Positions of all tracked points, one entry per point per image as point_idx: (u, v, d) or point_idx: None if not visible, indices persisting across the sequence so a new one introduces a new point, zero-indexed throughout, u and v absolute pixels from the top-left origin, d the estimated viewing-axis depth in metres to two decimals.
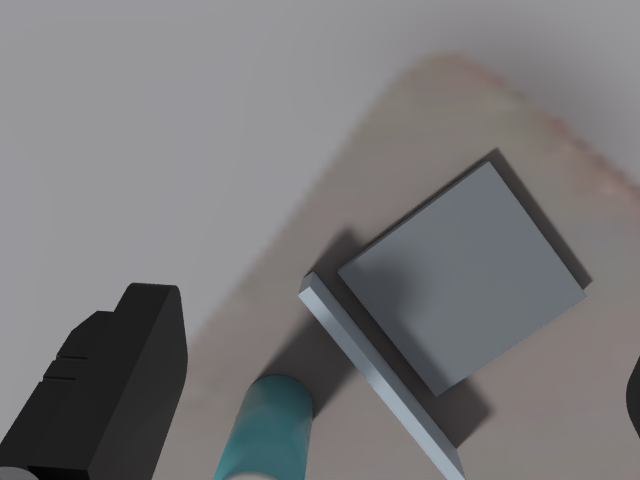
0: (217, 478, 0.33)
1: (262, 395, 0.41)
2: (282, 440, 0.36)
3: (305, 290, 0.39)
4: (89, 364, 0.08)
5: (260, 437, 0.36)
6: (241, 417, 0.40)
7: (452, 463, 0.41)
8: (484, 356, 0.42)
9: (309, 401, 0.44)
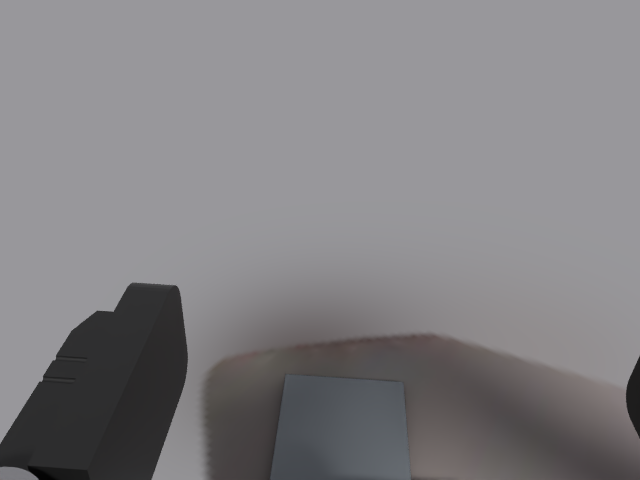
0: None
1: None
2: None
3: None
4: (89, 364, 0.08)
5: None
6: None
7: None
8: (402, 450, 0.52)
9: None
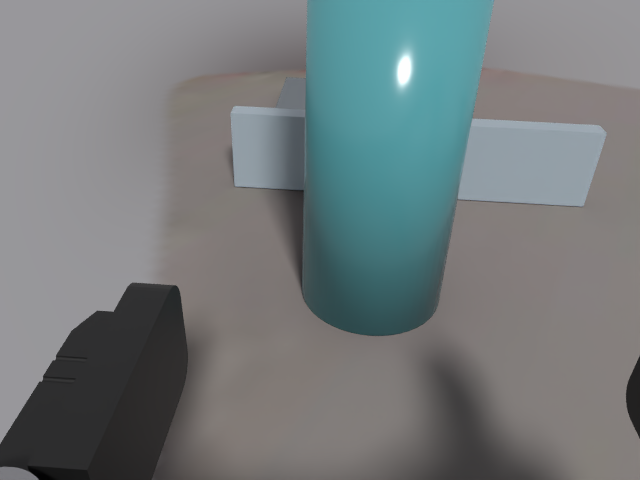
0: None
1: None
2: None
3: (234, 109, 0.29)
4: (89, 364, 0.08)
5: None
6: (304, 168, 0.20)
7: None
8: None
9: None
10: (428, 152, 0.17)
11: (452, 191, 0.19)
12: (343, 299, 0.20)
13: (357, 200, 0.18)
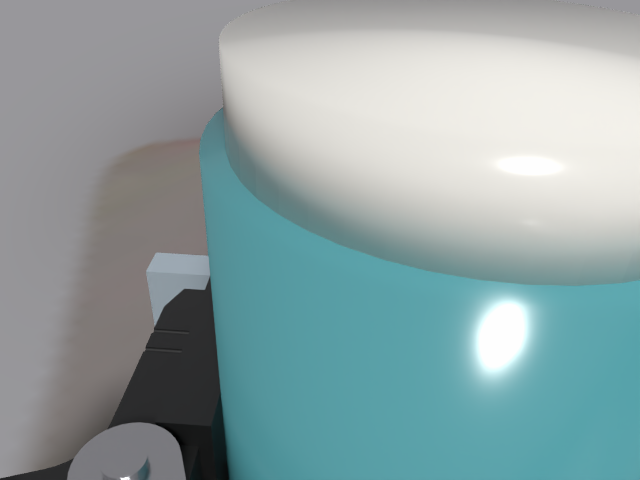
0: None
1: None
2: None
3: (154, 260, 0.18)
4: (193, 334, 0.08)
5: None
6: None
7: None
8: None
9: None
10: None
11: None
12: None
13: None
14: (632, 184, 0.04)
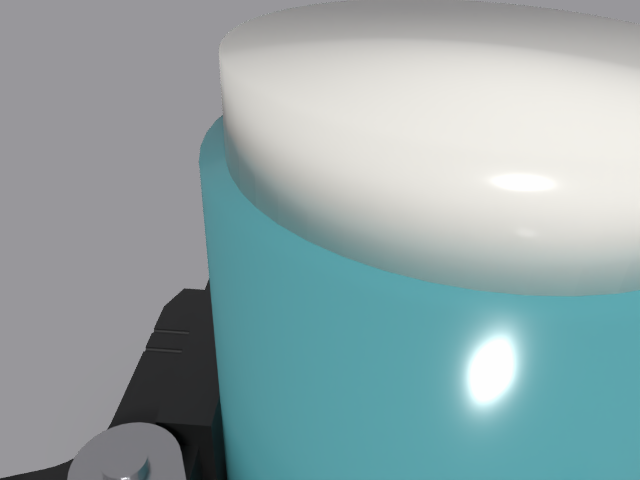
0: None
1: None
2: None
3: None
4: (193, 334, 0.08)
5: None
6: None
7: None
8: None
9: None
10: None
11: None
12: None
13: None
14: (628, 197, 0.04)
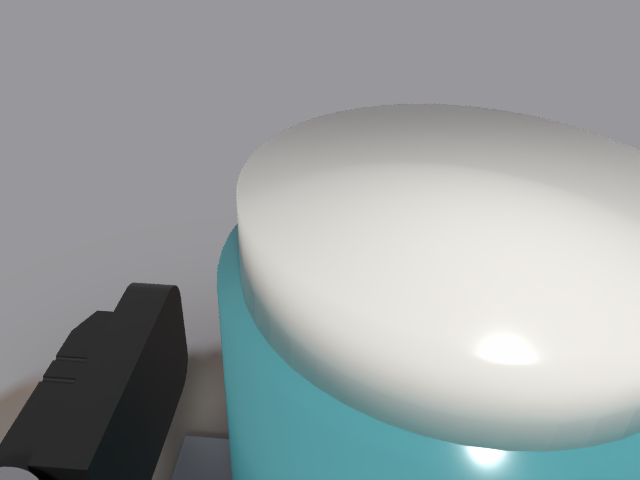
0: (219, 275, 0.06)
1: None
2: None
3: None
4: (89, 364, 0.08)
5: None
6: None
7: None
8: None
9: None
10: None
11: None
12: None
13: None
14: (593, 381, 0.04)
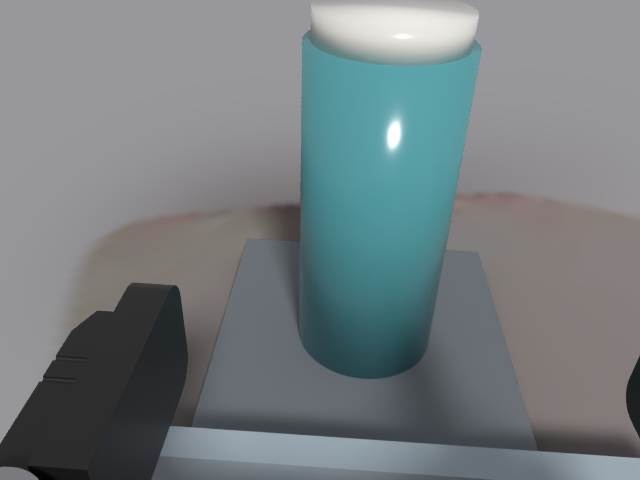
0: (302, 43, 0.18)
1: None
2: None
3: None
4: (89, 364, 0.08)
5: None
6: (300, 223, 0.22)
7: None
8: (500, 367, 0.23)
9: None
10: (416, 217, 0.18)
11: (439, 248, 0.20)
12: (337, 346, 0.22)
13: (350, 260, 0.19)
14: (415, 37, 0.15)
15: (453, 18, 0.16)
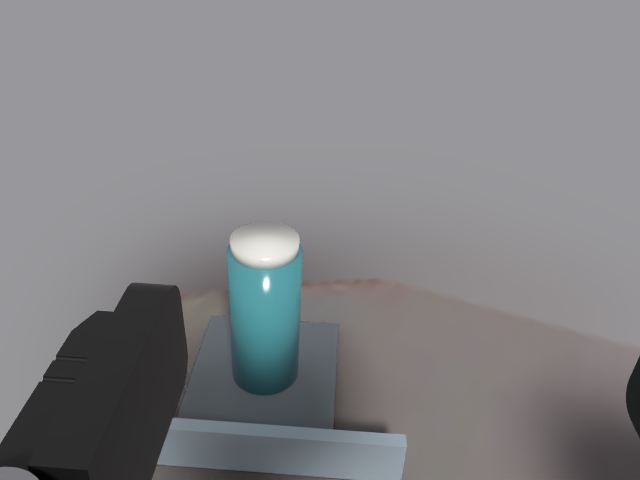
0: (227, 251, 0.42)
1: None
2: None
3: None
4: (89, 364, 0.08)
5: None
6: None
7: (383, 435, 0.40)
8: (328, 391, 0.47)
9: None
10: (274, 324, 0.43)
11: (290, 336, 0.44)
12: (246, 379, 0.46)
13: (248, 341, 0.44)
14: (265, 261, 0.40)
15: (285, 249, 0.41)
